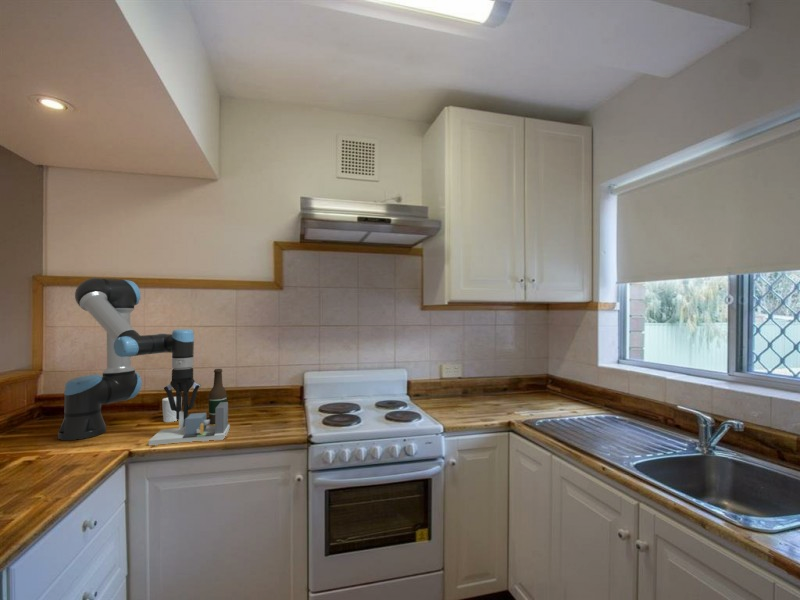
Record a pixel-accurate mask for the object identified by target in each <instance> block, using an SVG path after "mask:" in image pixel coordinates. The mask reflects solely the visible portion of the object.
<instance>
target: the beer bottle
mask: <svg viewBox="0 0 800 600" xmlns="http://www.w3.org/2000/svg"><path fill="white" fill-rule="evenodd" d="M213 370H214V371H213V373H214V375H213V385H212V388H211V390H210V391H209V395H208V420H210V425H213V424H215V408H216V407H217V406H218V405H219V403H220V402H228V401H227V391H226V389H225V387H224V385H223V369H222V368H215V369H213Z"/></svg>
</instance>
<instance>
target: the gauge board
mask: <svg viewBox="0 0 800 600" xmlns="http://www.w3.org/2000/svg"><path fill="white" fill-rule="evenodd" d="M229 429H230V430H231V424H229V402H228V401H227V402H220V403H219V405H218V406H217V407H216V408H215V425H213V424H212V425H206V428H205V430H204V433H203V434H200V433H199V434H186V435H185V427H184V428H181V429H179V427H175V428H162V429H160V430H159V431H158V432H157V433H156V434H154V436H152V437H151V438H150V439H148V446H149V445H155V446H159V445H158V444H166V445H169V444H168V443H178V444H180V443H179V442H190V443H193V442H192V441H202V442H210V441H209V440H214V441H222V440H223V439H224V438H226V437H227V435H228V433H229V431H230V430H229ZM225 436H226V437H225ZM224 440H225V439H224ZM224 440H223V441H224Z"/></svg>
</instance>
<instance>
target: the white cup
mask: <svg viewBox="0 0 800 600" xmlns="http://www.w3.org/2000/svg"><path fill="white" fill-rule="evenodd" d="M173 397H174V400H175V404H176V396H173ZM182 402H183V397H182V396H181V408H182V407H183V406H182ZM161 403H162V416H163V417H162V419H163V422H165V423H173V422H174V421H175V422H178V421H177V419H176V411H174V410H173V411H172V410H171V407H170V403H169V400H168V397H164V398H162V400H161Z"/></svg>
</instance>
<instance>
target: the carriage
mask: <svg viewBox="0 0 800 600" xmlns="http://www.w3.org/2000/svg"><path fill="white" fill-rule="evenodd" d="M207 415H208V414H207V412H198V413H197V412H196V413H190V414H188V417H187V418H186V419H185V427H184V428H185V435H186V434H199V433H200V425H201V423H204V430H205V428H206V426H211V424H210V420H209V419H207Z"/></svg>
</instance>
